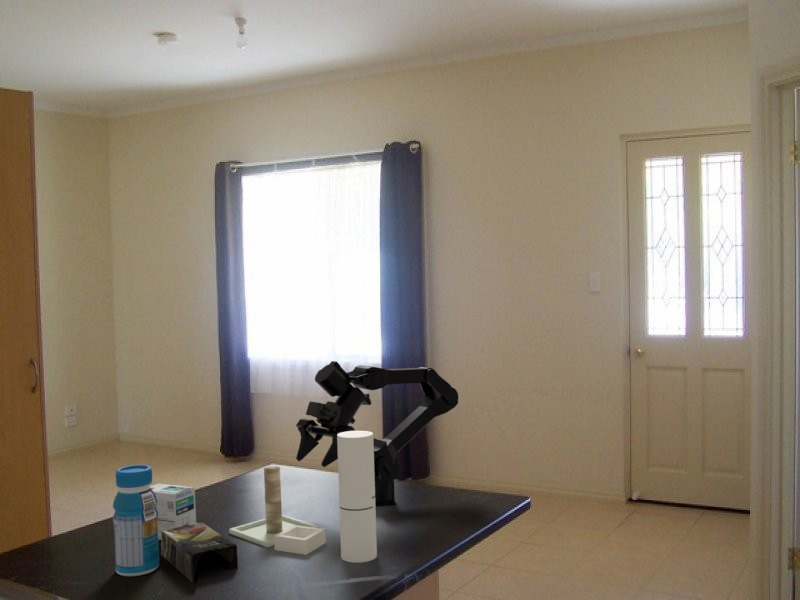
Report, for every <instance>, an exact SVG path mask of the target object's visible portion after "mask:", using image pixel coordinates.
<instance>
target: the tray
mask: <svg viewBox="0 0 800 600" xmlns="http://www.w3.org/2000/svg"><path fill="white" fill-rule="evenodd" d="M294 525H299V526H306V527H314V528H320V526H319V525H317V524H314V523H311V522H307V521H305V520H301V519H298V518H295V517H291V516H289V515H285V514H282V532H283V531H284V530H286V529H288V528H290V527H292V526H294ZM228 532H229V534H230V535H232V536H236V537H237V538H241V539H243V540H245V541H248V542H251V543H254V544H256V545H259V546H262V547H264V548H270V547H273V546H275V543H274V536H275V535H277V534H279V533H275V534H270V533H267V532H266V517H265V518H262V519H259V520H256V521H252V522H248V523H245V524H242V525H238V526H235V527H231V528H229V530H228ZM280 533H281V532H280Z"/></svg>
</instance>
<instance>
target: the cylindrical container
mask: <svg viewBox="0 0 800 600" xmlns="http://www.w3.org/2000/svg"><path fill="white" fill-rule="evenodd" d="M373 438H374V432H372V431H370V430H356V431H346V432H341V433H339V434H337V445H338V459H337V462H338V463H337V470H338V471H337V472H338V474H337V475H338V497H339V498H338V500H339V501H338V503H339V506H338V507H339V529H340V530H339V533H340V535H339V536H340V557H341V560H343V561H344V562H349V563H367V562H371V561H373V560H374V559H376V558H377V557H378V556H377V555H378V547H377V545H378V543H377V517H376V516H377V514H376V513H377V512H376V506H375V476H374V443H373Z"/></svg>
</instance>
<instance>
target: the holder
mask: <svg viewBox="0 0 800 600" xmlns="http://www.w3.org/2000/svg"><path fill="white" fill-rule="evenodd" d="M274 543H275V545H274V551H278V552H285V553H286V552H287V553H292V554H298V555H304V556H305V555H306V556H307V555H308V554H309V553H310V554H311V553H312V552H314V551H315V550H316V549H318V548H320V547H321V546H323V545H325V544H326V543H327V542H326V528H320V527H319V528H314V527H306V526H299V525H294V526H292V527H290V528H288V529H286V530H284V531H283V532H281V533H279V534H277V535H275V536H274Z"/></svg>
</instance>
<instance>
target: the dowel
mask: <svg viewBox="0 0 800 600" xmlns="http://www.w3.org/2000/svg"><path fill="white" fill-rule="evenodd" d="M263 477H264V479H263V480H264V481H263V482H264V483H263V484H264V502H265V504H264V505H265V518H266V532H267V533H270V534H275V533H280V532H282V515H283V513H282V485H281V484H282V483H281V467H280V466H278V465H269V466H265V467H263Z"/></svg>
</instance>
